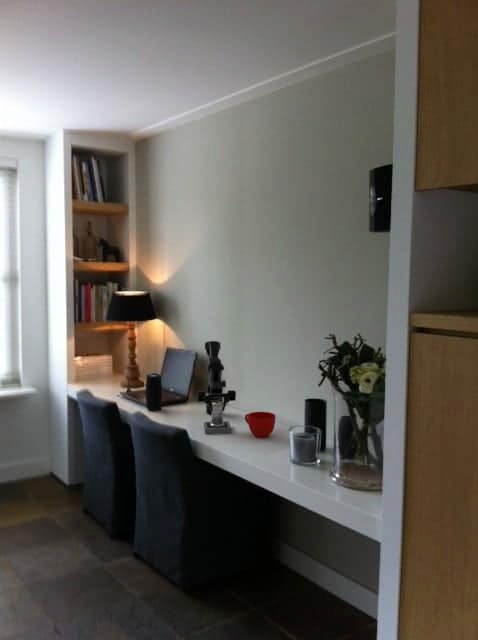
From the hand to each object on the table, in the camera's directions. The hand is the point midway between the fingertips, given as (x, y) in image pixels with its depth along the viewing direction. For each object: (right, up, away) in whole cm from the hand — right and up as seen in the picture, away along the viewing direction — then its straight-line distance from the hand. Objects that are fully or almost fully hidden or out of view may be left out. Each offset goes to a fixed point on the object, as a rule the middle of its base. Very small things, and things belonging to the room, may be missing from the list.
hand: (217, 410), depth 295 cm
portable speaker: (-36, -6, +43) cm, 56 cm away
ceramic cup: (+19, -11, -6) cm, 23 cm away
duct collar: (0, -10, +2) cm, 10 cm away
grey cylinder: (0, -7, +2) cm, 7 cm away
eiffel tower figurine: (-57, -3, +75) cm, 94 cm away
